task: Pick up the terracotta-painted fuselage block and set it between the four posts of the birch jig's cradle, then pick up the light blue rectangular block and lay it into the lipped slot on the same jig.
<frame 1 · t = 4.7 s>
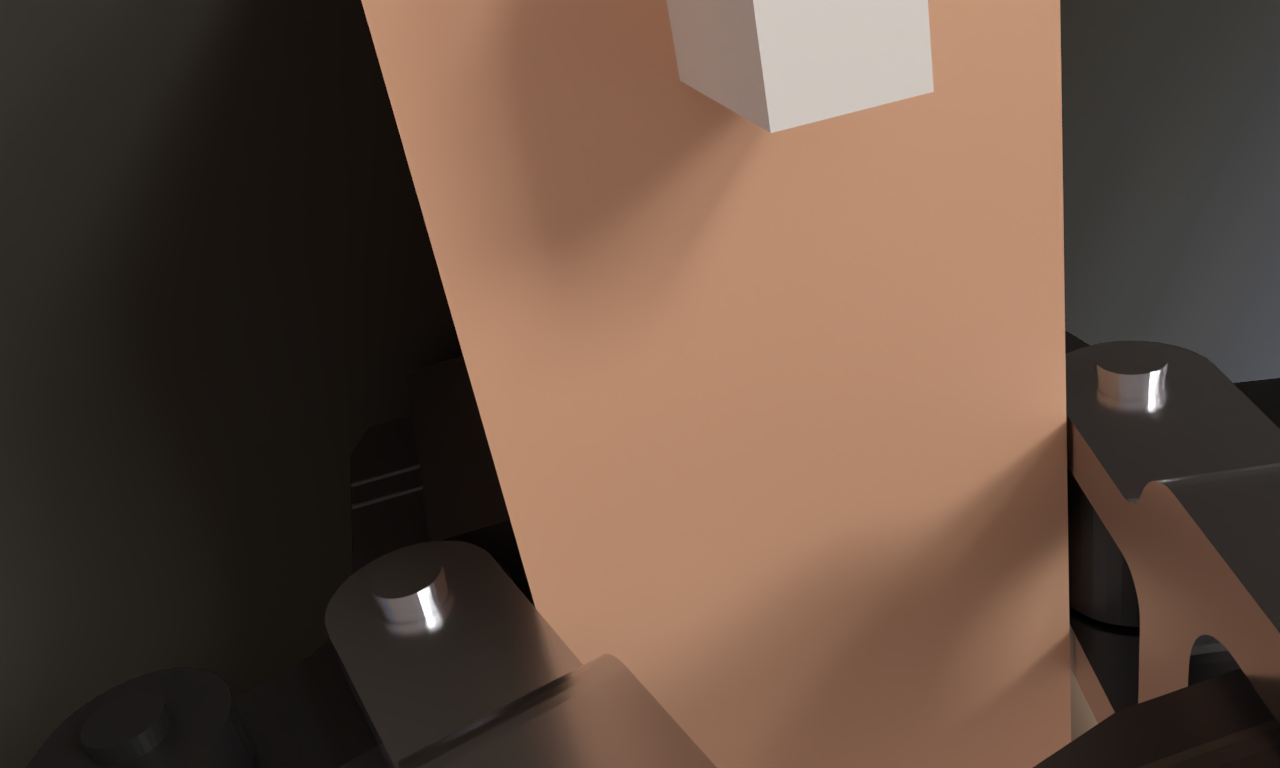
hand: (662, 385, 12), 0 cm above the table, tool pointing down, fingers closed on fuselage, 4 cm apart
fuselage: (655, 370, 13), on the table, touching gripper
when the fingers open (2 cm above the table, at t = 9.5 s): fuselage stays where it is, resting on jig.
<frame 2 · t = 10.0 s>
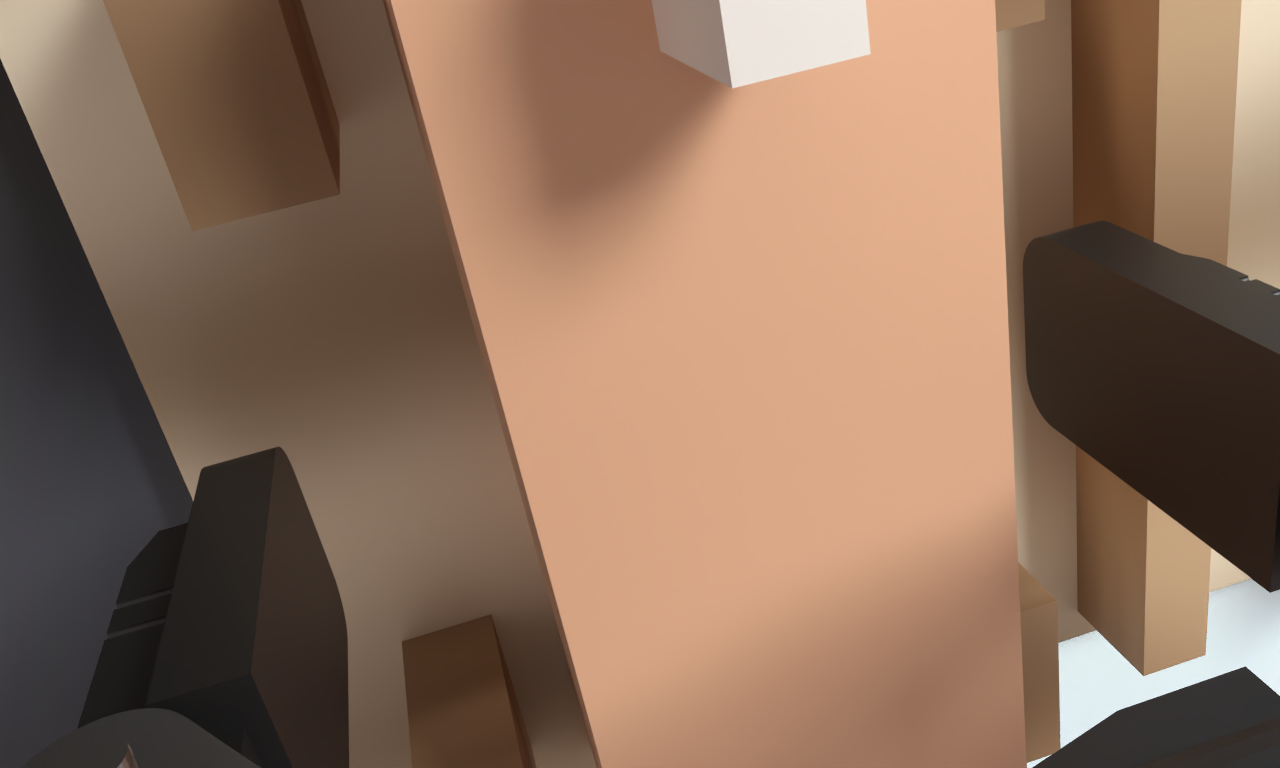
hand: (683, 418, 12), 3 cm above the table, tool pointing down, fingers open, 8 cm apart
jig: (930, 225, 15), on the table
fuselage: (646, 335, 14), point 1 cm above the table, touching jig
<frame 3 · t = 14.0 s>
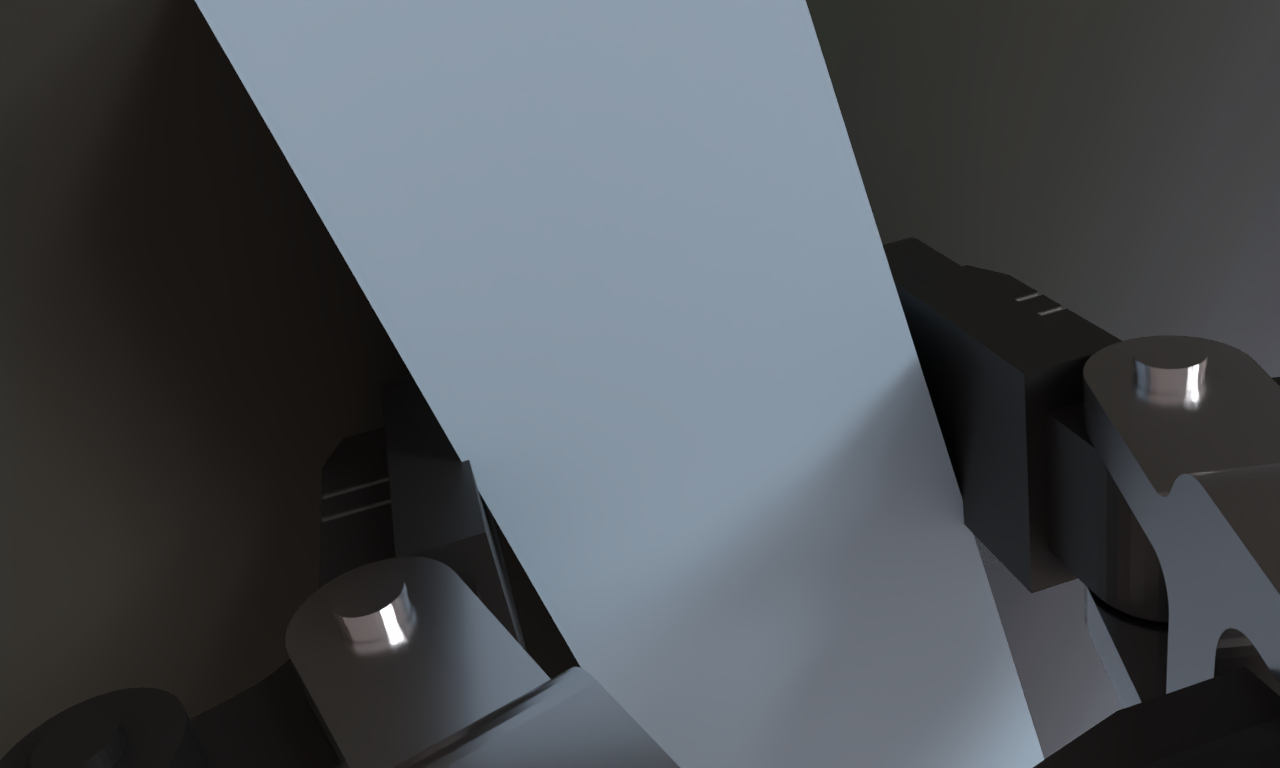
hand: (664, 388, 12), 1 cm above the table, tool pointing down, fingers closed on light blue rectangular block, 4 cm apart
light blue rectangular block: (652, 364, 13), on the table, touching gripper
when the fingers open (3 cm above the table, at t = 19.4 s): light blue rectangular block stays where it is, resting on jig.
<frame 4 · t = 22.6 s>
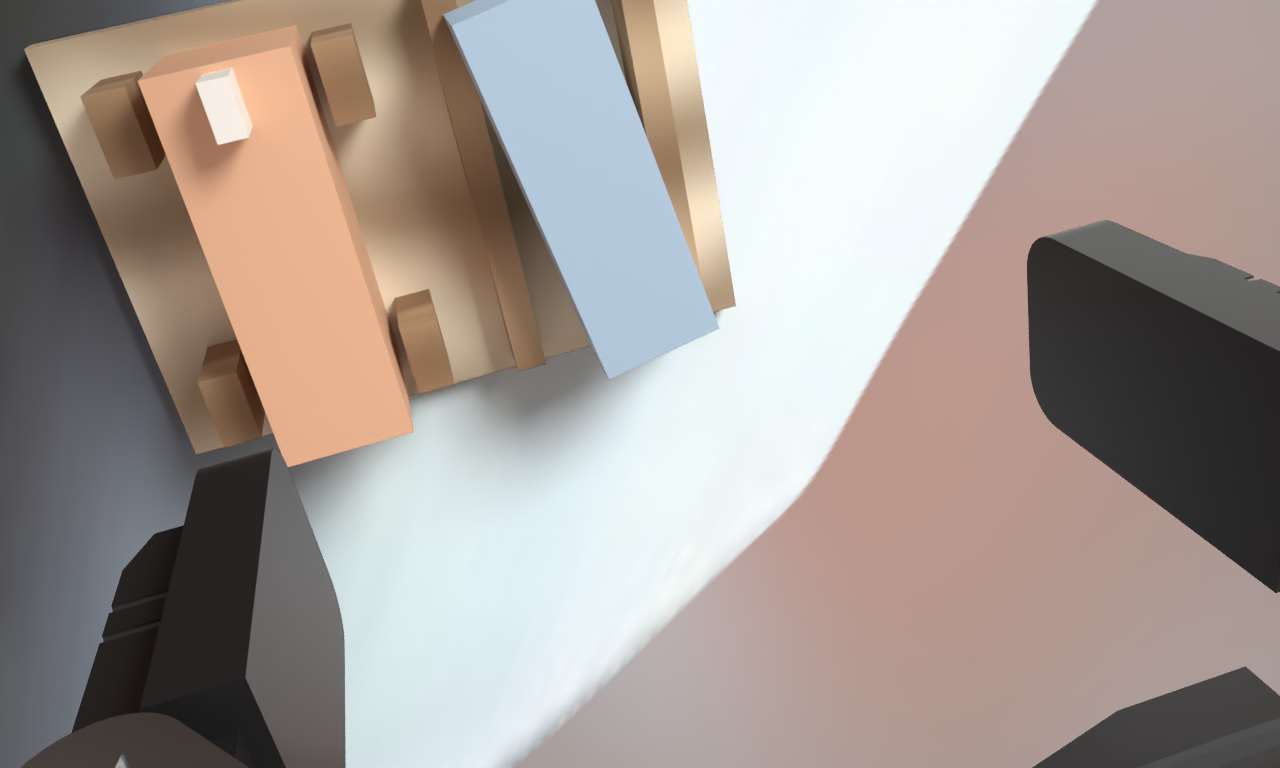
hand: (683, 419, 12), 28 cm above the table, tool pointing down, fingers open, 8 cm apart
jig: (420, 185, 38), on the table
light blue rectangular block: (578, 167, 36), point 3 cm above the table, touching jig
fuselage: (294, 225, 36), point 1 cm above the table, touching jig
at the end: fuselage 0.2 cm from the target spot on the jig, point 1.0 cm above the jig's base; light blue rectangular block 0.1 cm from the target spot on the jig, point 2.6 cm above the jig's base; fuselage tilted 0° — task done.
